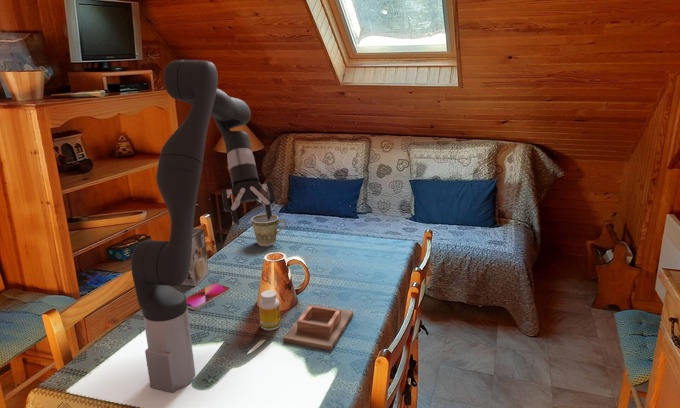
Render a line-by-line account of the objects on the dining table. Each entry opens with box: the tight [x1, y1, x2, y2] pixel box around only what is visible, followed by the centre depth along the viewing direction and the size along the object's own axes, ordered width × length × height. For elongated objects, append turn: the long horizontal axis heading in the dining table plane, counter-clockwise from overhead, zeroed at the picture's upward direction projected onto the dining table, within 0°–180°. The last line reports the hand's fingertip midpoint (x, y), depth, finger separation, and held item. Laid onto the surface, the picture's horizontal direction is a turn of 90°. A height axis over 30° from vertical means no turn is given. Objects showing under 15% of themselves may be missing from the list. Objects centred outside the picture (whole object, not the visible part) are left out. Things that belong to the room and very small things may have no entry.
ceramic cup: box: [251, 213, 287, 247], centre depth 192 cm, size 13×10×10 cm
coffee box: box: [180, 227, 210, 287], centre depth 163 cm, size 9×6×16 cm
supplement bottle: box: [258, 289, 281, 331], centre depth 137 cm, size 5×5×10 cm
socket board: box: [282, 303, 354, 351], centre depth 136 cm, size 18×13×4 cm
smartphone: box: [186, 282, 231, 311], centre depth 154 cm, size 7×1×15 cm
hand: (253, 221), depth 141 cm, fingers open, 8 cm apart
